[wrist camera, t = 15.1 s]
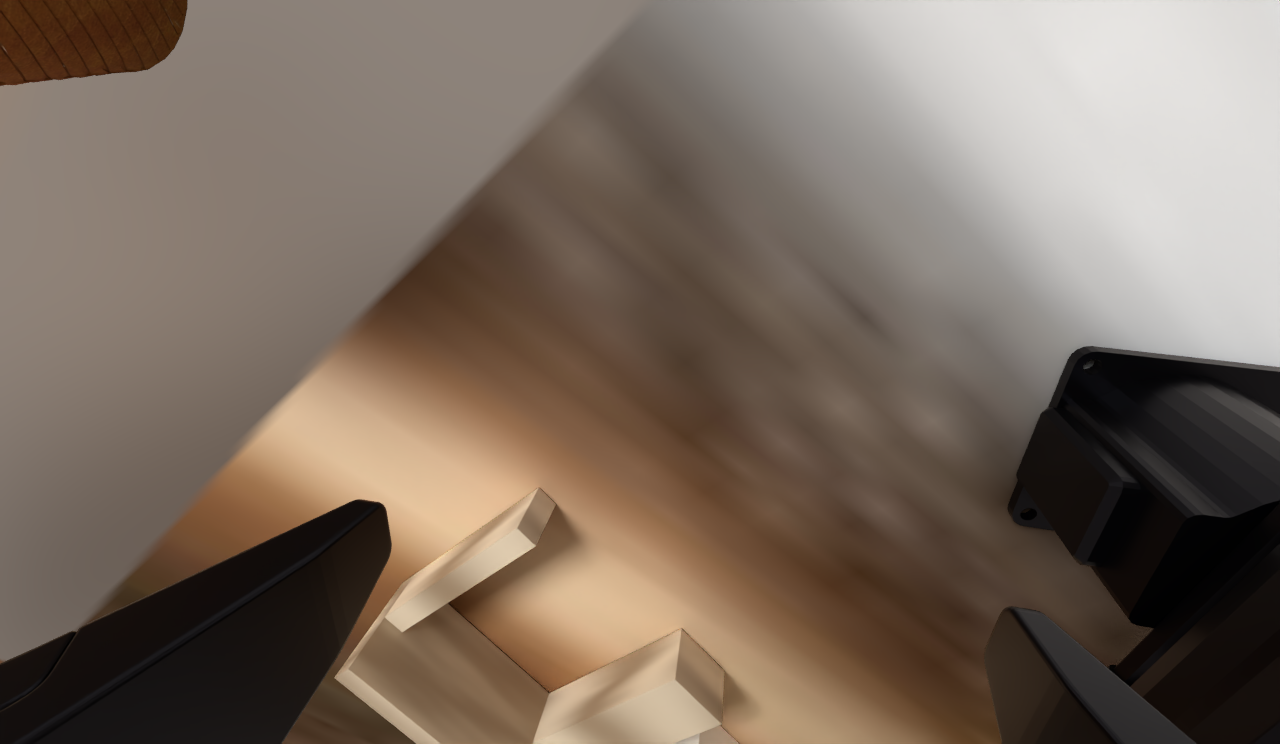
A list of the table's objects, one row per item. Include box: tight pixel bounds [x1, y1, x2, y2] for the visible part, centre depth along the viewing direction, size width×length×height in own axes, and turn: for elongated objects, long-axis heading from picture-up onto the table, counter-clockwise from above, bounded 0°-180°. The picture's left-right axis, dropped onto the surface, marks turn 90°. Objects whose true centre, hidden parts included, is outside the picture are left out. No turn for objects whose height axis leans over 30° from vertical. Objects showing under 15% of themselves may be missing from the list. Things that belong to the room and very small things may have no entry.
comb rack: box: [335, 488, 724, 744], centre depth 26 cm, size 10×21×5 cm, turn 42°
